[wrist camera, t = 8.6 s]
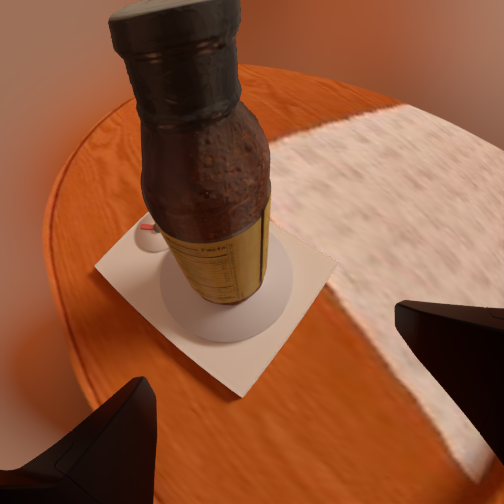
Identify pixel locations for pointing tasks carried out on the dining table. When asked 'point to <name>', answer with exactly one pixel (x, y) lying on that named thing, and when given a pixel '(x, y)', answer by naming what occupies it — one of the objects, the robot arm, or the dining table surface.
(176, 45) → the sauce bottle
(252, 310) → the scale
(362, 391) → the dining table surface
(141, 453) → the robot arm
